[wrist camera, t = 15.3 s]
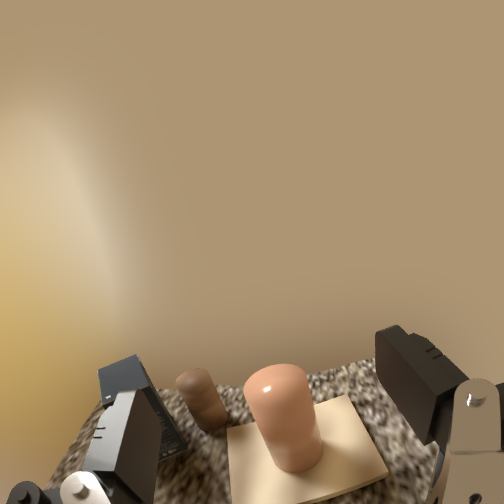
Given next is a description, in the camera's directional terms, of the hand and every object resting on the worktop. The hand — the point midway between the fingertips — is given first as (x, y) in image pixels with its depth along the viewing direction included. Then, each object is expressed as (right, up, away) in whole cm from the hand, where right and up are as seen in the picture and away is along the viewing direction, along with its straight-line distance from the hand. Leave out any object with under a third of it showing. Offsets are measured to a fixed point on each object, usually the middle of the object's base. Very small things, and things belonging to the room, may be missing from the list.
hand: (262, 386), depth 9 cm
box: (-12, -19, +22) cm, 31 cm away
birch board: (+4, -16, +16) cm, 23 cm away
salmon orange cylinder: (+4, -15, +16) cm, 22 cm away
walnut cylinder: (-5, -16, +24) cm, 30 cm away
